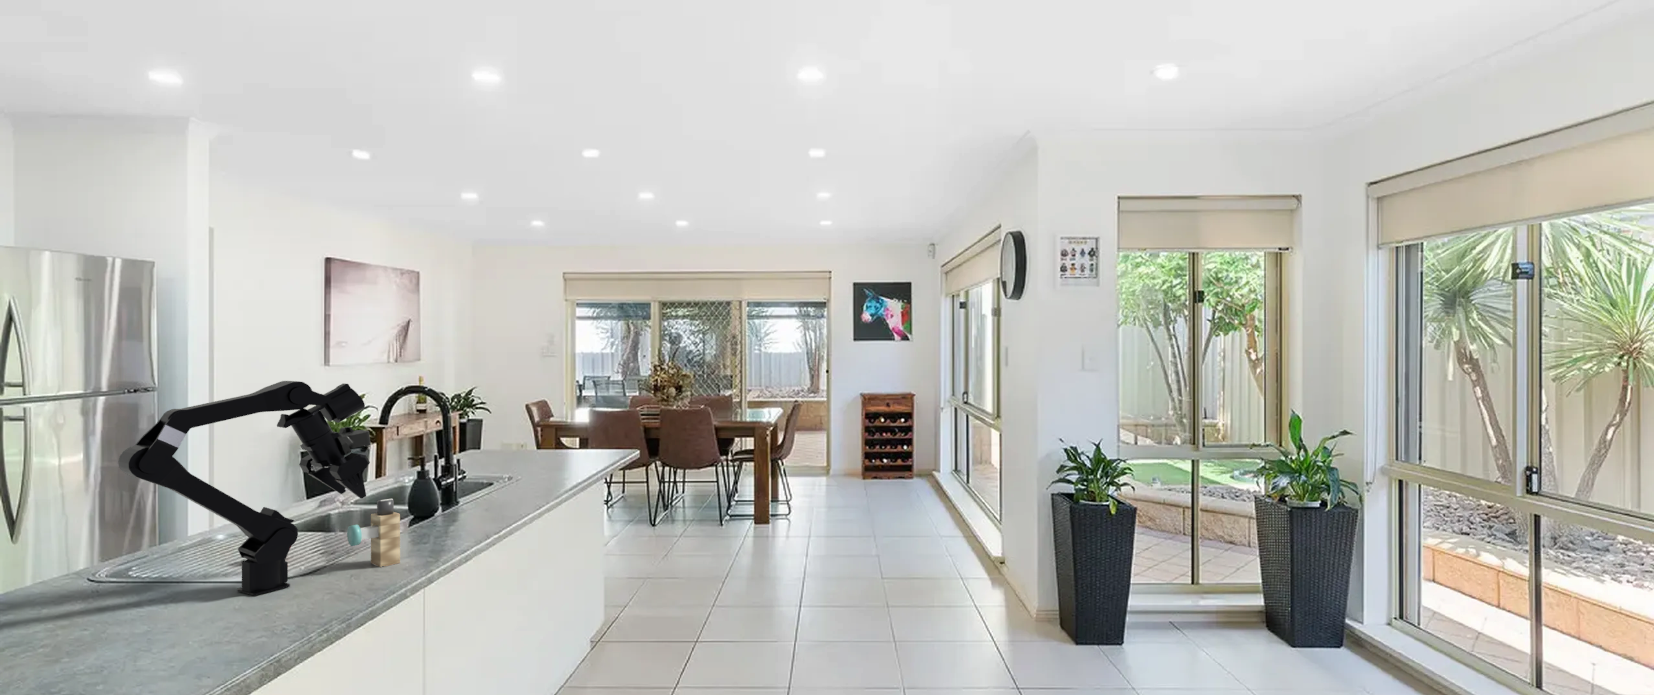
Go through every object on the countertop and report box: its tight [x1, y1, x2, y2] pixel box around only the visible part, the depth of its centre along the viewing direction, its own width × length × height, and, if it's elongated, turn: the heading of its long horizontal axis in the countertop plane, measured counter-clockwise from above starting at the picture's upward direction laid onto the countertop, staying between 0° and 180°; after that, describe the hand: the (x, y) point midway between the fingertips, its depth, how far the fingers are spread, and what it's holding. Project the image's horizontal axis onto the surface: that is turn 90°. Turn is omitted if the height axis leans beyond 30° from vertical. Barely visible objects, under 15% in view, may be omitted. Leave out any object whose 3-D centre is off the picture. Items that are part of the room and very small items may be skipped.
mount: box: [370, 511, 401, 568], centre depth 166 cm, size 4×5×11 cm
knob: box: [346, 524, 379, 547], centre depth 163 cm, size 6×4×4 cm
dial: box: [376, 498, 395, 516], centre depth 166 cm, size 3×3×3 cm
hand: (353, 495), depth 162 cm, fingers open, 9 cm apart
